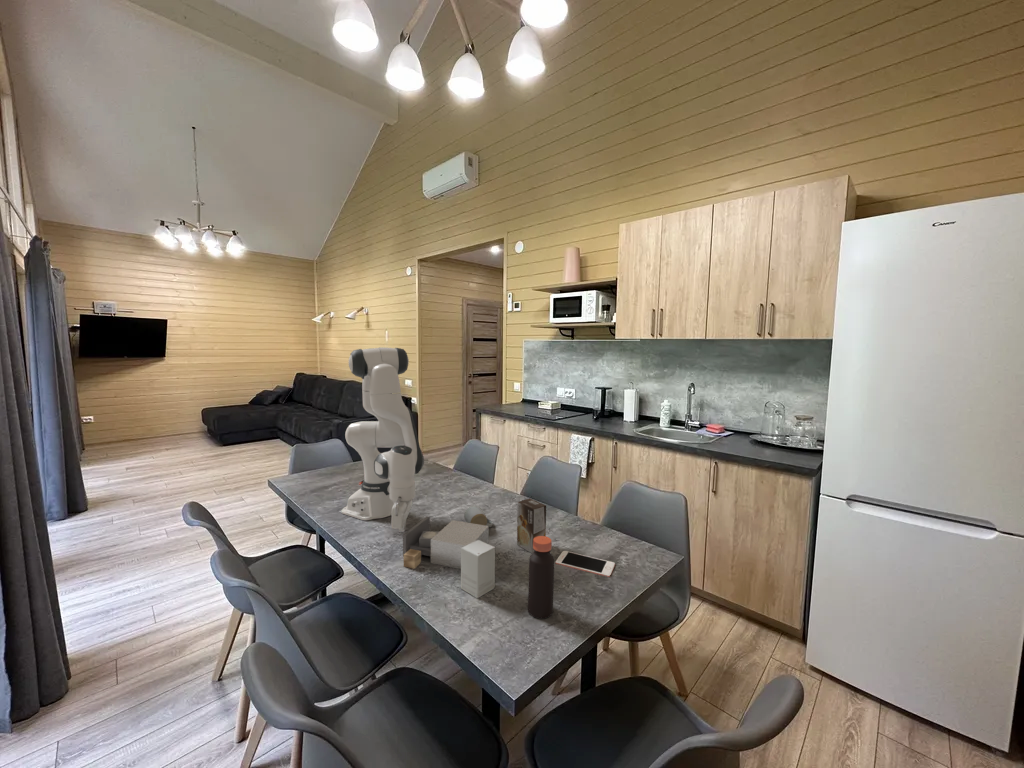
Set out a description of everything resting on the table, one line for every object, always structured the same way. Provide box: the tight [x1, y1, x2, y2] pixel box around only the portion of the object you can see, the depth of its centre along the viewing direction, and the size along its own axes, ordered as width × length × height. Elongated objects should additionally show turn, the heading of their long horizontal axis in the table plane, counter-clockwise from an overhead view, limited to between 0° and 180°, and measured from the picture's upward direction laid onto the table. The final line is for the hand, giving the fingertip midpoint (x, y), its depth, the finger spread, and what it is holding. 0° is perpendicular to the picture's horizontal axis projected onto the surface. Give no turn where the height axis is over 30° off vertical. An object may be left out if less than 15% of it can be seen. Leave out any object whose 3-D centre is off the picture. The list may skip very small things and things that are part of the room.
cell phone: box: [555, 550, 616, 578], centre depth 137 cm, size 9×18×1 cm, turn 65°
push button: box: [419, 530, 440, 548], centre depth 144 cm, size 6×6×3 cm
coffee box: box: [516, 498, 547, 554], centre depth 147 cm, size 9×6×16 cm
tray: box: [402, 515, 431, 558], centre depth 144 cm, size 15×16×8 cm
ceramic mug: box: [463, 505, 494, 528], centre depth 163 cm, size 11×8×8 cm
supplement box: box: [460, 540, 496, 599], centre depth 121 cm, size 7×7×13 cm
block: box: [403, 549, 422, 569], centre depth 134 cm, size 4×4×4 cm
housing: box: [430, 519, 490, 570], centre depth 140 cm, size 14×16×8 cm
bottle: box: [527, 535, 556, 619], centre depth 111 cm, size 7×7×20 cm
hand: (402, 530), depth 147 cm, fingers closed
